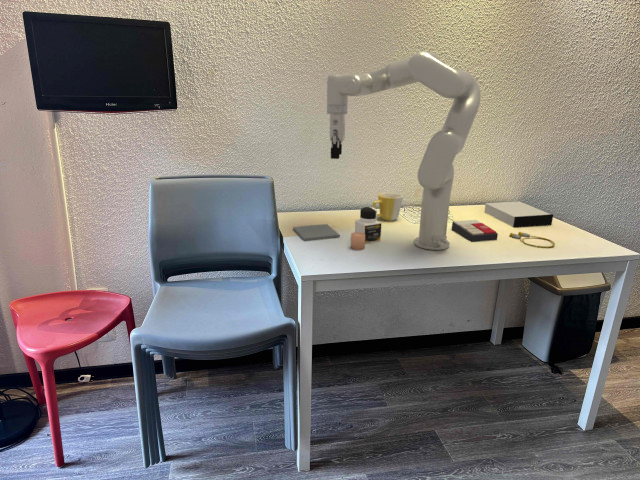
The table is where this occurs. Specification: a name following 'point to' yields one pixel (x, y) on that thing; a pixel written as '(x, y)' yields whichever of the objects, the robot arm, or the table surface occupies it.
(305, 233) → the slate mat
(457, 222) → the red and grey box
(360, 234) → the terracotta cylinder
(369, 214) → the medicine bottle
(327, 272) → the table surface
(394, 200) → the mug
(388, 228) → the table surface
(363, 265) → the table surface
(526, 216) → the disc drive
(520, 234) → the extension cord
